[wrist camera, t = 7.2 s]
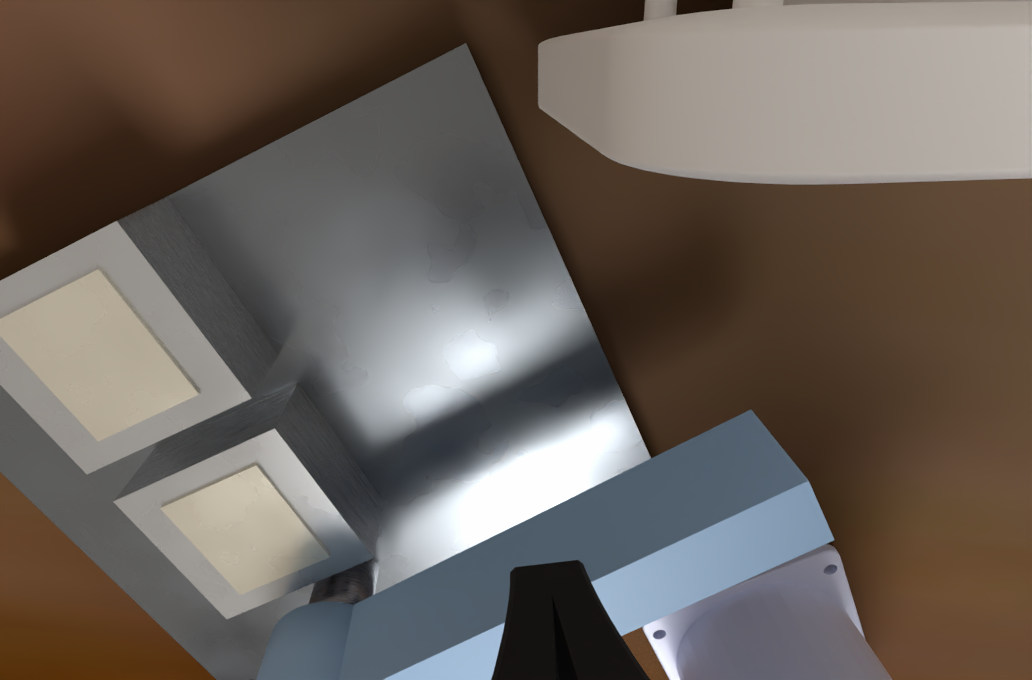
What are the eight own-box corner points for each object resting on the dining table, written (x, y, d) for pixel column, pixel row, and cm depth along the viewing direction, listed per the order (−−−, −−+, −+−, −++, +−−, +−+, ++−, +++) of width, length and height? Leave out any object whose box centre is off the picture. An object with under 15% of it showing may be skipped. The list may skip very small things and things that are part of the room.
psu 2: (278, 354, 18) (250, 400, 16) (133, 422, 18) (85, 476, 16) (166, 196, 16) (114, 222, 13) (6, 279, 16) (-71, 316, 14)
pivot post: (392, 557, 23) (379, 645, 19) (344, 577, 23) (323, 667, 20) (363, 519, 22) (345, 604, 18) (314, 540, 22) (287, 628, 19)
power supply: (383, 502, 20) (373, 560, 18) (252, 558, 21) (225, 622, 19) (298, 381, 18) (273, 430, 16) (155, 447, 19) (110, 504, 16)
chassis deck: (683, 530, 23) (691, 550, 22) (266, 696, 25) (259, 720, 24) (465, 43, 16) (465, 42, 15) (-98, 333, 18) (-129, 348, 17)
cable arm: (319, 701, 20) (296, 804, 17) (244, 633, 18) (205, 736, 16) (784, 482, 17) (844, 562, 15) (740, 386, 16) (797, 454, 13)
